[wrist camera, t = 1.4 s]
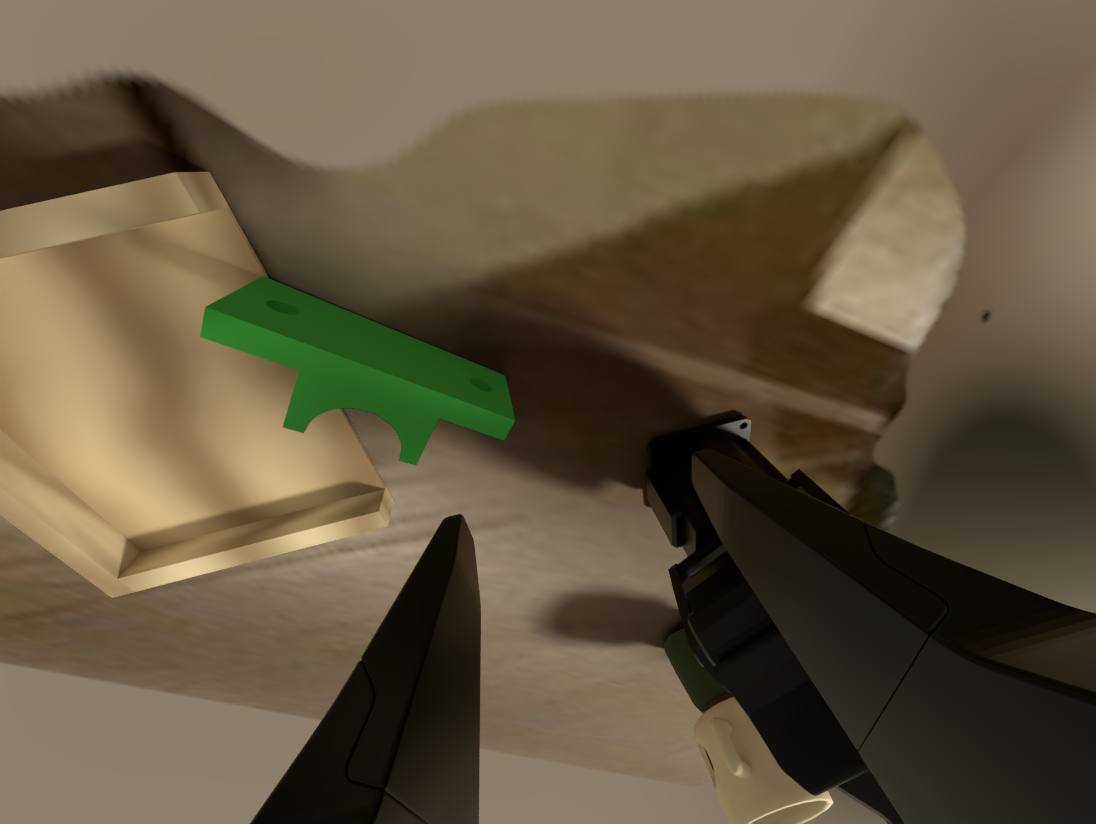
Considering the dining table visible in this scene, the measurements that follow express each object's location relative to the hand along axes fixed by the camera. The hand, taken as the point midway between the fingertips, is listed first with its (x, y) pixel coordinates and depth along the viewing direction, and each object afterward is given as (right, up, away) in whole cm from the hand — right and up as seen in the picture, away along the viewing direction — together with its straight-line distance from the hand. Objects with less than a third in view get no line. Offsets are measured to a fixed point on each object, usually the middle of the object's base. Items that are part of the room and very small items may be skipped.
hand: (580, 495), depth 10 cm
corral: (-18, +2, +9) cm, 21 cm away
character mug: (+13, -19, +28) cm, 36 cm away
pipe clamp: (-9, +4, +10) cm, 14 cm away
